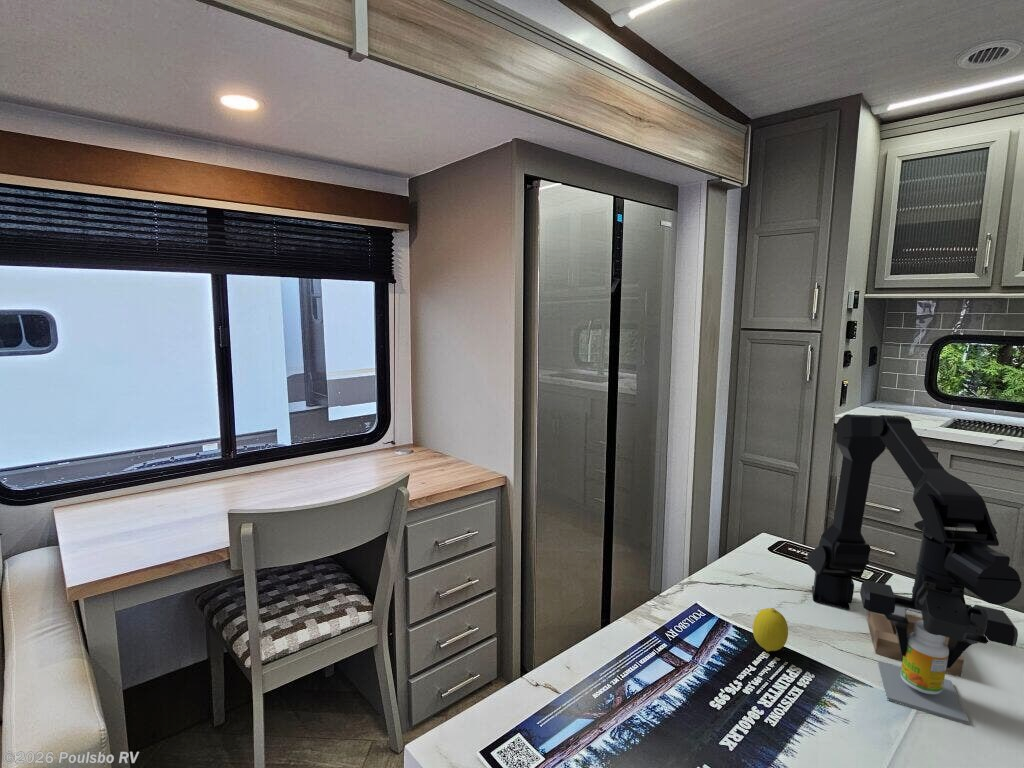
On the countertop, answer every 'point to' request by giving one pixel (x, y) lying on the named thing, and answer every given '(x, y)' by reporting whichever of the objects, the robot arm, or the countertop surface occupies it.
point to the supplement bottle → (925, 660)
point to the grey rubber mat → (922, 695)
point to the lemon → (770, 629)
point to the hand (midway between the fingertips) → (924, 660)
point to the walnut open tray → (889, 644)
